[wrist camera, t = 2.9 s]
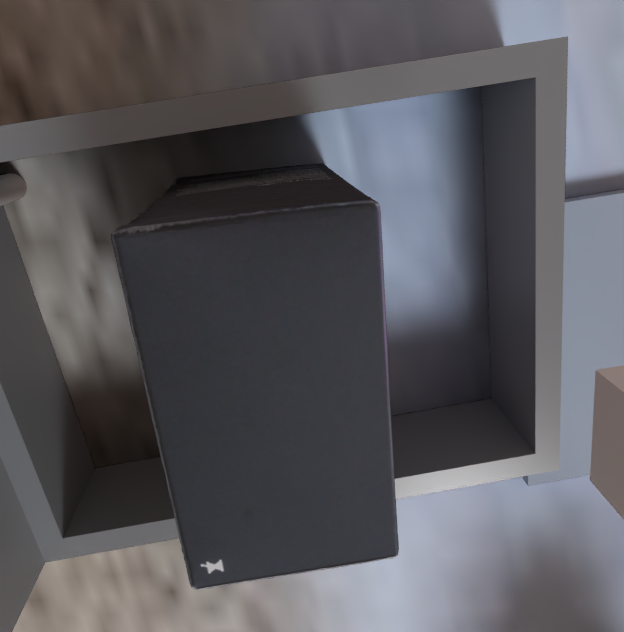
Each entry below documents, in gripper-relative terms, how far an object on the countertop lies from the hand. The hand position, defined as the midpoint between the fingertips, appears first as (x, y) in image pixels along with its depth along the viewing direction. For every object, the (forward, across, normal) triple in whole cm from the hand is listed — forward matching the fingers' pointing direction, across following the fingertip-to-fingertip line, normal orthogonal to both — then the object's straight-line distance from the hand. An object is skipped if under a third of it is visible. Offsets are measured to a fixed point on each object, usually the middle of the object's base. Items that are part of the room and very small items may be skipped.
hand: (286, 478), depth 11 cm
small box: (+13, 0, 0) cm, 13 cm away
